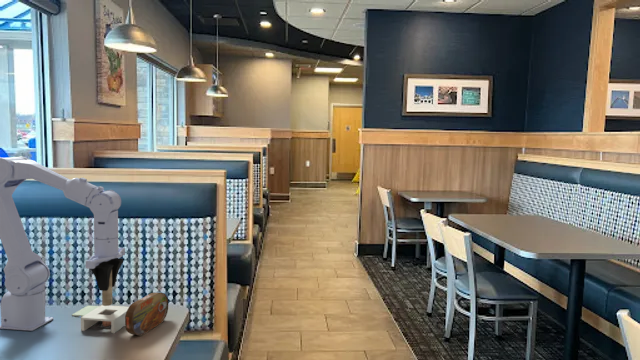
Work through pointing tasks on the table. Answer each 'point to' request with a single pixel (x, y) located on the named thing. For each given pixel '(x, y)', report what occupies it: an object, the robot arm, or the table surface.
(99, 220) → the robot arm
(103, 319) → the box
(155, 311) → the tin
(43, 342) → the table surface
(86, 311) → the mat
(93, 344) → the table surface
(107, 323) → the button
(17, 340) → the table surface
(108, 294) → the wooden block
